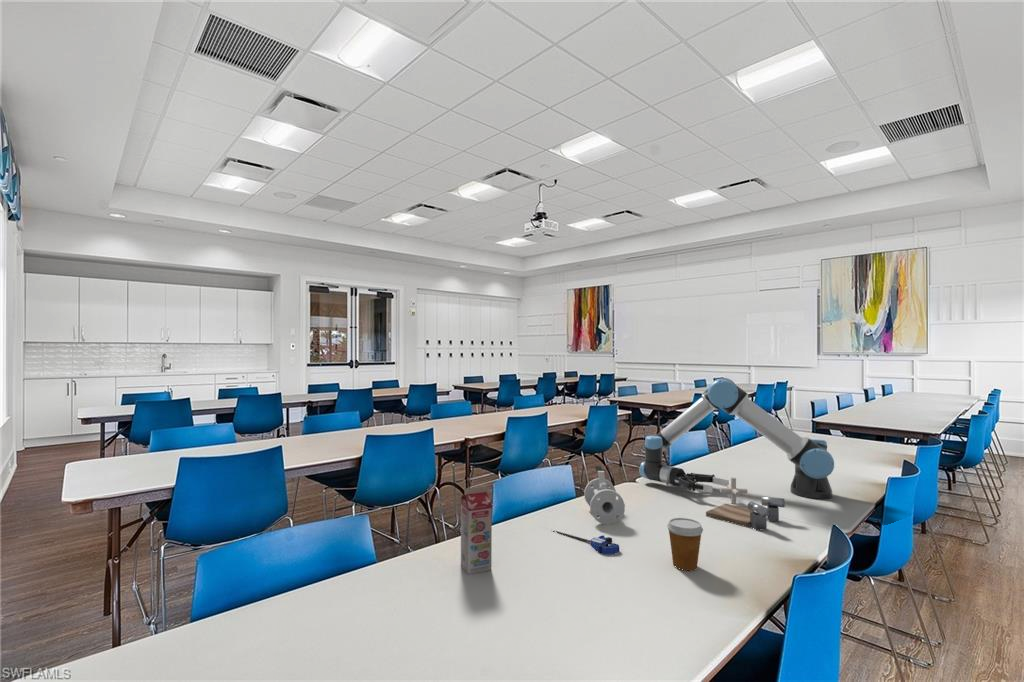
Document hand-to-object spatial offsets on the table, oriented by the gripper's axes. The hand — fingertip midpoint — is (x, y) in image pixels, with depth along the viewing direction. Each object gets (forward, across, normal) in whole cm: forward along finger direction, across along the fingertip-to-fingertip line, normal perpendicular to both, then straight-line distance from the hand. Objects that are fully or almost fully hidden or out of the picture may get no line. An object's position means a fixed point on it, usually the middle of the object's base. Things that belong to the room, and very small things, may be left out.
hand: (720, 486), depth 199 cm
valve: (-20, +50, -6) cm, 54 cm away
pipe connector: (+5, 0, -6) cm, 8 cm away
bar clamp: (-10, +74, -6) cm, 75 cm away
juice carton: (-14, +112, -6) cm, 113 cm away
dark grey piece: (+24, +20, -6) cm, 32 cm away
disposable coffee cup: (+23, +66, -6) cm, 71 cm away
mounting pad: (+13, +14, -6) cm, 20 cm away
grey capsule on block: (+24, +8, -6) cm, 26 cm away
